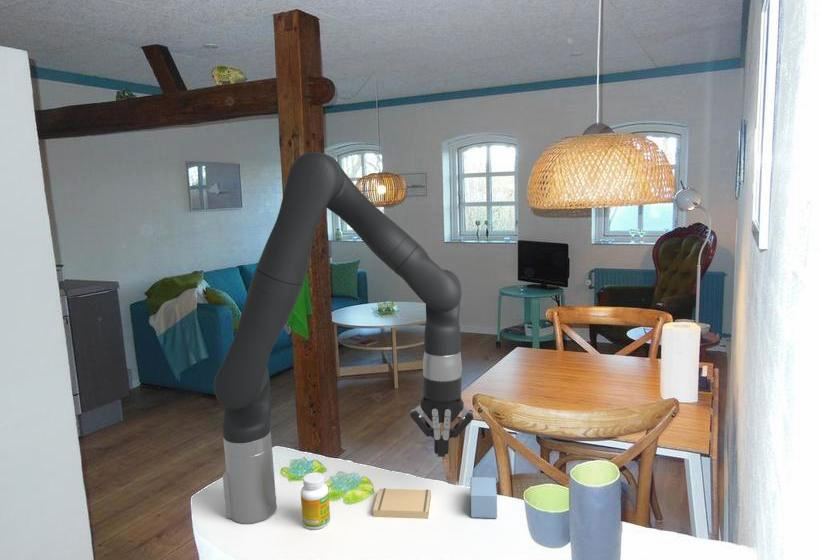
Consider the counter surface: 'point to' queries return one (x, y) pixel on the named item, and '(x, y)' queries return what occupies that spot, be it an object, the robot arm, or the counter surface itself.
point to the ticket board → (402, 503)
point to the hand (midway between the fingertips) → (441, 455)
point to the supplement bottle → (315, 501)
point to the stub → (483, 497)
